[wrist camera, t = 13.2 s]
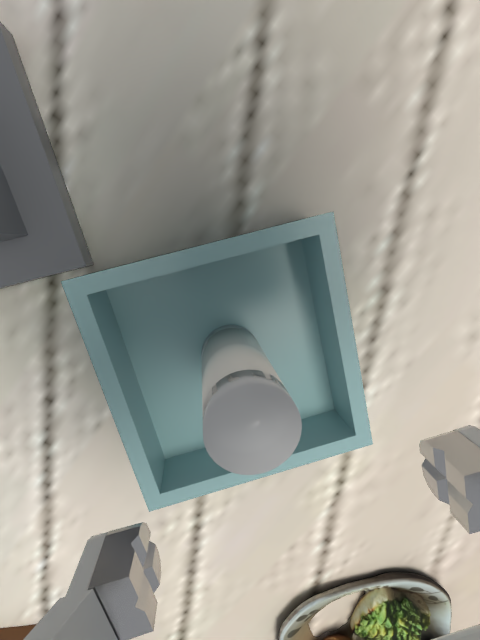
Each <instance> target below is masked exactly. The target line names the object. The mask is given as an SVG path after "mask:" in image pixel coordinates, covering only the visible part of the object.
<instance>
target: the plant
mask: <svg viewBox="0 0 480 640" xmlns="http://www.w3.org/2000/svg"><path fill="white" fill-rule="evenodd" d="M36 625H37V624H35V625H28V626H19V627H9V628H0V640H23V639H24V638H25V637H26V636H27V635H28V634H29V633H30V631H31V630H32V629H33V628H34V627H35V626H36Z"/></svg>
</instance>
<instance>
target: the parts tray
mask: <svg viewBox="0 0 480 640" xmlns="http://www.w3.org/2000/svg"><path fill="white" fill-rule="evenodd" d="M61 283H62V286H63V288H64V291H65V294H66V296H67V299H68V301H69V304H70V307H71V309H72V312H73V314H74V317H75V320H76V322H77V325H78V327H79V330H80V333H81V335H82V338H83V340H84V343H85V346H86V348H87V351H88V354H89V356H90V359H91V361H92V364H93V367H94V369H95V372H96V374H97V377H98V380H99V382H100V385H101V387H102V390H103V393H104V395H105V398H106V400H107V403H108V406H109V408H110V411H111V413H112V416H113V419H114V421H115V424H116V426H117V429H118V432H119V434H120V437H121V439H122V442H123V445H124V447H125V450H126V452H127V455H128V458H129V460H130V463H131V465H132V468H133V471H134V473H135V476H136V479H137V481H138V484H139V486H140V489H141V492H142V494H143V497H144V499H145V502H146V505H147V507H148V510H149V512H150V511H153V510H156V509H160V508H163V507H166V506H170V505H173V504H176V503H180V502H183V501H186V500H189V499H193V498H196V497H199V496H203V495H206V494H209V493H213V492H216V491H219V490H223V489H226V488H229V487H233V486H236V485H239V484H242V483H246V482H249V481H252V480H256V479H259V478H262V477H266V476H269V475H272V474H276V473H279V472H282V471H285V470H289V469H292V468H295V467H299V466H302V465H305V464H309V463H312V462H315V461H319V460H322V459H325V458H329V457H332V456H335V455H338V454H342V453H345V452H348V451H352V450H355V449H358V448H362V447H365V446H368V445H372V444H373V443H372V437H371V431H370V425H369V419H368V413H367V407H366V401H365V395H364V390H363V384H362V378H361V372H360V366H359V360H358V354H357V348H356V342H355V337H354V331H353V325H352V319H351V313H350V307H349V301H348V295H347V289H346V283H345V278H344V272H343V266H342V260H341V254H340V248H339V242H338V236H337V230H336V224H335V219H334V213H333V212H330V213H326V214H321V215H317V216H313V217H309V218H305V219H301V220H297V221H294V222H290V223H286V224H282V225H278V226H274V227H270V228H266V229H262V230H258V231H255V232H251V233H247V234H243V235H239V236H235V237H231V238H227V239H223V240H219V241H216V242H212V243H208V244H204V245H200V246H196V247H192V248H188V249H184V250H181V251H177V252H173V253H169V254H165V255H161V256H157V257H153V258H149V259H145V260H142V261H138V262H134V263H130V264H126V265H122V266H118V267H114V268H110V269H106V270H103V271H99V272H95V273H91V274H87V275H83V276H80V277H76V278H72V279H68V280H65V281H61ZM225 325H238V326H241V327H244V328H246V329H247V330H249V331H250V332H251V333H252V334H253V335H254V337H255V338H256V340H257V341H258V343H259V345H260V346H261V348H262V350H263V351H264V353H265V355H266V356H267V358H268V360H269V361H270V363H271V365H272V366H273V368H274V370H275V371H276V373H277V375H278V376H279V378H280V380H281V381H282V383H283V385H284V386H285V388H286V390H287V391H288V393H289V395H290V396H291V398H292V400H293V401H294V403H295V405H296V406H297V408H298V410H299V413H300V416H301V422H302V431H301V436H300V440H299V443H298V445H297V447H296V449H295V450H294V452H293V453H292V455H291V456H290V457H289V458H288V459H287V460H286V461H285V462H284V463H282V464H281V465H280V466H278V467H276V468H275V469H273V470H271V471H268V472H265V473H261V474H256V475H240V474H236V473H232V472H229V471H227V470H225V469H223V468H222V467H220V466H219V465H218V464H216V463H215V462H214V461H213V459H212V458H211V457H210V456H209V454H208V452H207V450H206V448H205V445H204V440H203V414H202V355H201V353H202V346H203V343H204V341H205V339H206V338H207V336H208V335H209V334H210V333H211V332H212V331H213V330H215V329H217V328H219V327H221V326H225Z"/></svg>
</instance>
